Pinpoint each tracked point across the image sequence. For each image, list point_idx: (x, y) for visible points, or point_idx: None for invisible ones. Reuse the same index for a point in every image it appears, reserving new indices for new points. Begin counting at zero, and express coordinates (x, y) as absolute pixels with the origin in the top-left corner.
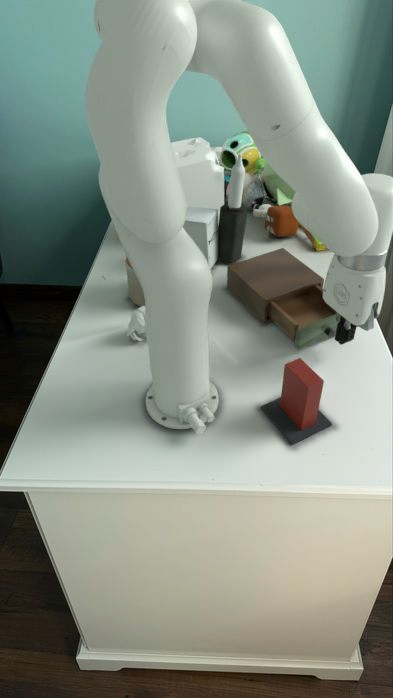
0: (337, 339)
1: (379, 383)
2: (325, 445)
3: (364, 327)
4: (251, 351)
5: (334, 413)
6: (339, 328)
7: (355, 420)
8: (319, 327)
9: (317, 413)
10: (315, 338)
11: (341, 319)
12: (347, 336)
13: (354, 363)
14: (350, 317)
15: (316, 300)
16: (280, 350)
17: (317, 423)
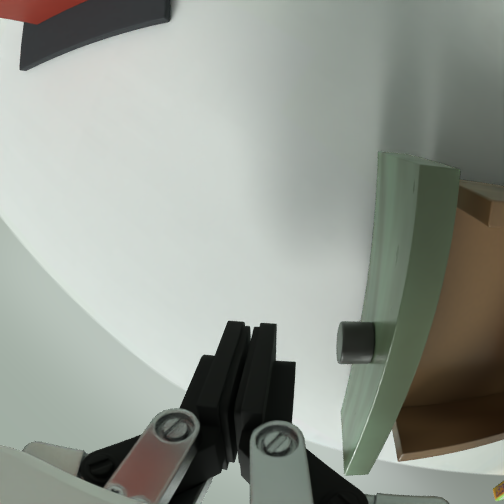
0: (257, 332)
1: (99, 303)
2: (5, 35)
3: (47, 456)
4: (469, 11)
5: (48, 98)
6: (245, 390)
7: (17, 144)
8: (391, 316)
9: (3, 17)
10: (378, 264)
11: (250, 453)
12: (197, 376)
13: (202, 309)
14: (2, 495)
15: (500, 391)
16: (429, 102)
17: (35, 29)
